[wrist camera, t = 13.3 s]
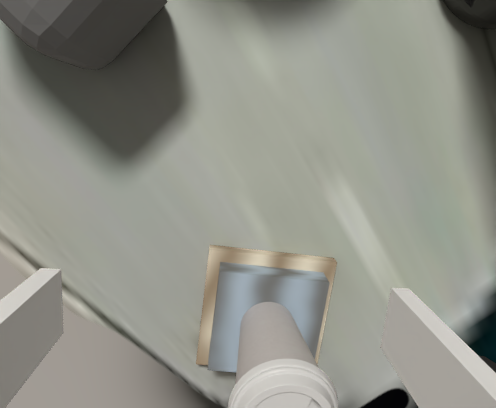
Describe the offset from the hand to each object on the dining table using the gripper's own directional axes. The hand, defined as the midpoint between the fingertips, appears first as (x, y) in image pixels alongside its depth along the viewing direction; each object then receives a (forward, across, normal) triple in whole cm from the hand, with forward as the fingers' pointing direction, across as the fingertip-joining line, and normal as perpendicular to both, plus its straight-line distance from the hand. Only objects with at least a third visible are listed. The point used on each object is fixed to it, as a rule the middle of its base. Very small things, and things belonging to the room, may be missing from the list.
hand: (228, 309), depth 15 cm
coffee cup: (+27, +6, -17) cm, 32 cm away
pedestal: (+31, +6, -17) cm, 36 cm away
